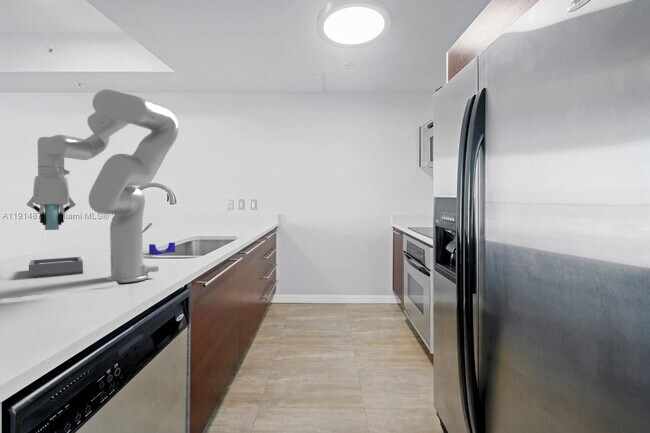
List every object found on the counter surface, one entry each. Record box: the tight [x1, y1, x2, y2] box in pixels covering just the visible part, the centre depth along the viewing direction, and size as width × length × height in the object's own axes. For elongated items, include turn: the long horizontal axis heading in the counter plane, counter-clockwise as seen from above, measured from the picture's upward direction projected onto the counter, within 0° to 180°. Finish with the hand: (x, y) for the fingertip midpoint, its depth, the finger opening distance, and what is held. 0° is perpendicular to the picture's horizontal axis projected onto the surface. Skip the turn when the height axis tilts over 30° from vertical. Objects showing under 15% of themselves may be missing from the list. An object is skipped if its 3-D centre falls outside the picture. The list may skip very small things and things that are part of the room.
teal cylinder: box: [44, 204, 60, 231], centre depth 131 cm, size 4×4×9 cm
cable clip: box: [148, 242, 176, 256], centre depth 185 cm, size 12×4×6 cm, turn 144°
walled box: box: [28, 256, 84, 279], centre depth 134 cm, size 15×16×4 cm
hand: (52, 224), depth 131 cm, fingers closed on teal cylinder, 4 cm apart
